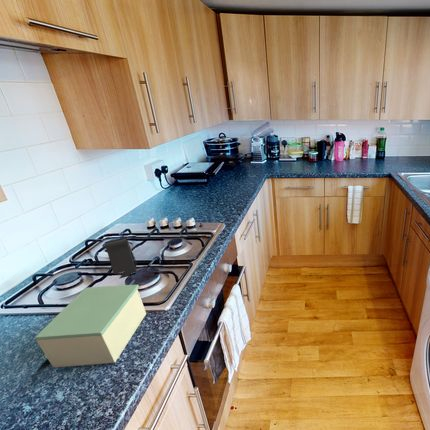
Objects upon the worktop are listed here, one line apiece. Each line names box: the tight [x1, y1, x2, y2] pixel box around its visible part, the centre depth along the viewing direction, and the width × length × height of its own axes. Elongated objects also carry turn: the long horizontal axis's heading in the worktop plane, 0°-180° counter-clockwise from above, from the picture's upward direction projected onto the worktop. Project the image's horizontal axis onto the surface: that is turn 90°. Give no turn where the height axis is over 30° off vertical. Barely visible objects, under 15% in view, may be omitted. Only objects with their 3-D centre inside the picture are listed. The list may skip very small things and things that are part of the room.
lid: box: [34, 284, 140, 341], centre depth 70 cm, size 16×14×1 cm
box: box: [36, 288, 147, 369], centre depth 71 cm, size 16×14×9 cm
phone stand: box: [104, 236, 137, 279], centre depth 97 cm, size 9×6×12 cm, turn 31°
